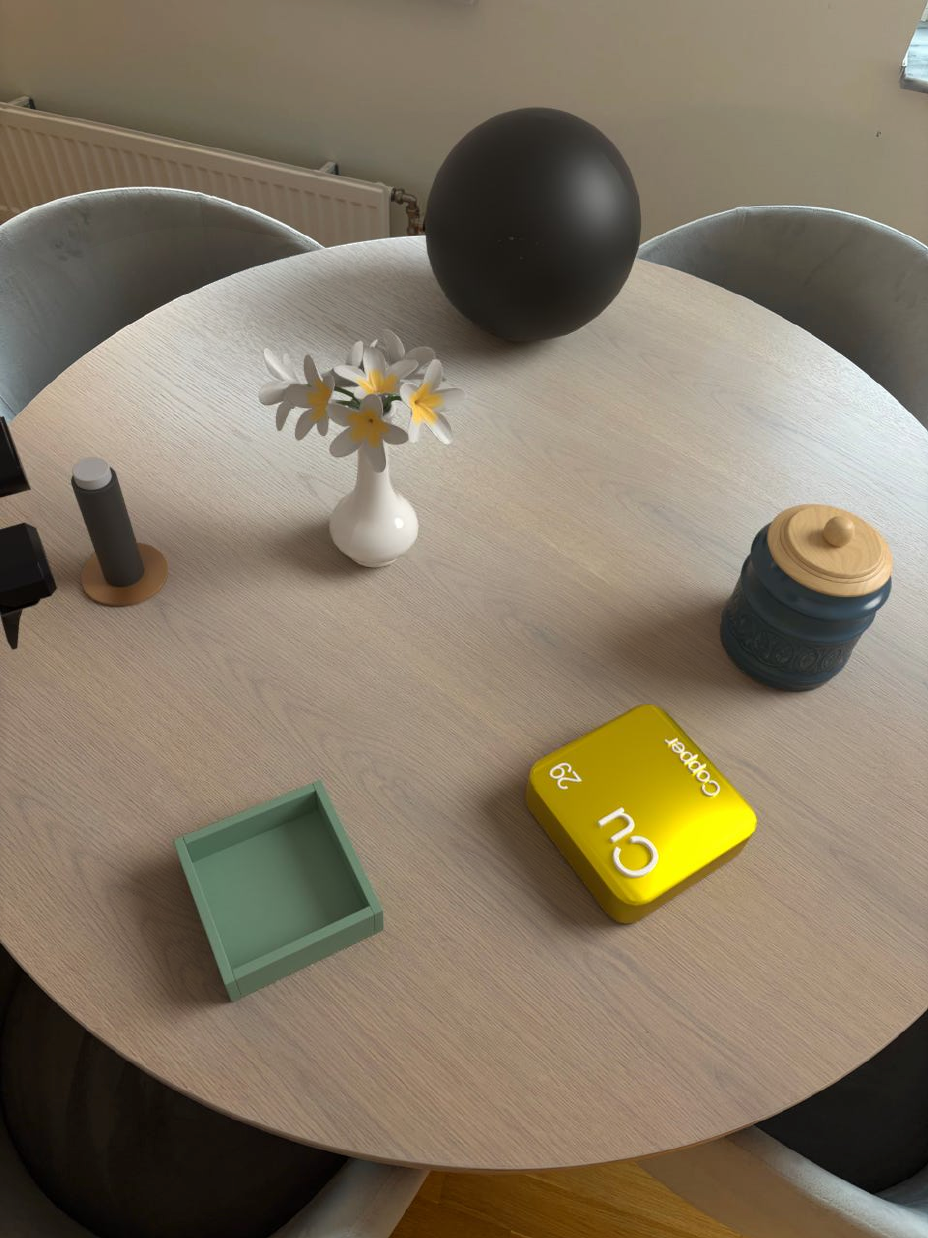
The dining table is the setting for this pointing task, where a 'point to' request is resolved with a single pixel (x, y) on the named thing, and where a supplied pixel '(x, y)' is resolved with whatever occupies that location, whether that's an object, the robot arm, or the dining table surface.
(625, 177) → the ball
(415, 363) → the flower vase
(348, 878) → the box
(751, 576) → the canister
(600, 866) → the element tile
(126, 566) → the salt mill
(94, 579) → the coaster
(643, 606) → the dining table surface
